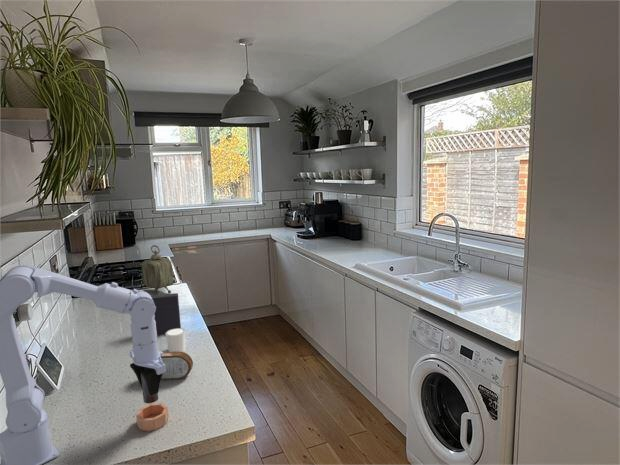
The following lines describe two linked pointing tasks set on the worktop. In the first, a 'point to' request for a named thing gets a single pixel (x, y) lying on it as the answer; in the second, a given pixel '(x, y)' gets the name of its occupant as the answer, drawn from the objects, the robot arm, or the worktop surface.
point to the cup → (152, 417)
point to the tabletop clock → (157, 272)
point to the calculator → (166, 312)
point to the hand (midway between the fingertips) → (150, 390)
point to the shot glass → (176, 339)
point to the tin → (176, 365)
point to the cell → (146, 395)
